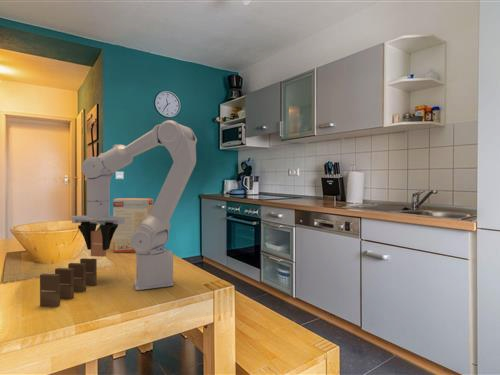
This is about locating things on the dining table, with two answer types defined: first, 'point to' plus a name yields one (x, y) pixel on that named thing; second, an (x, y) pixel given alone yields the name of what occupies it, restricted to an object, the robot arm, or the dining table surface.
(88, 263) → the domino
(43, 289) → the domino
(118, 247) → the cracker box
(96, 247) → the domino
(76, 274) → the domino
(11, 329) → the dining table surface
